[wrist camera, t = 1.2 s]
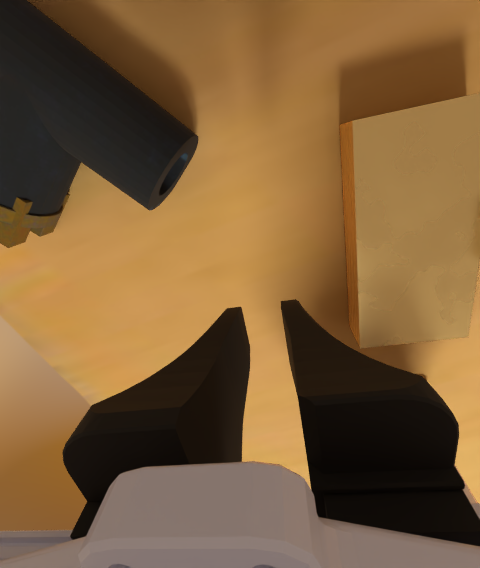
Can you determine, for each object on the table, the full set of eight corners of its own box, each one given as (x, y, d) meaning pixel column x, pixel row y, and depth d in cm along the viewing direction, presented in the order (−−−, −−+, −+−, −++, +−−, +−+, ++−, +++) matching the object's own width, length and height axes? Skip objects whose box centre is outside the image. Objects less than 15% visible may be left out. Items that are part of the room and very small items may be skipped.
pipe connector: (86, 304, 18) (-180, 142, 15) (124, 272, 22) (-72, 145, 20) (185, 131, 13) (-159, -140, 11) (205, 138, 18) (-27, -47, 16)
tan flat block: (474, 311, 21) (519, 347, 17) (349, 326, 23) (366, 361, 19) (507, 88, 16) (585, 68, 12) (339, 125, 17) (360, 118, 13)
